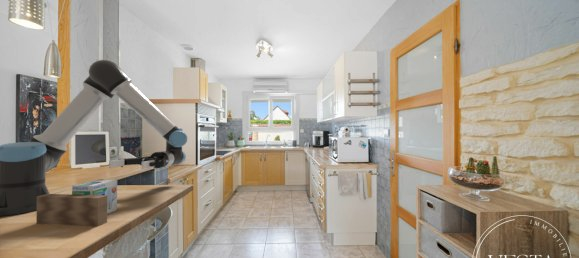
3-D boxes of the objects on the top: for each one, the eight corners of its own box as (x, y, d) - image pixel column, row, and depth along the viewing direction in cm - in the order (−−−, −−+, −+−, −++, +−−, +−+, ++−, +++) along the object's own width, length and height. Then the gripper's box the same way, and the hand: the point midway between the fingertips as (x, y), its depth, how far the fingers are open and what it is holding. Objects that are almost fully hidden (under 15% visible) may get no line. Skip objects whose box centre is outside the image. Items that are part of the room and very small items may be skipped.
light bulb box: (92, 221, 71) (92, 185, 71) (70, 221, 71) (70, 185, 71) (118, 209, 82) (118, 178, 82) (98, 209, 82) (99, 178, 82)
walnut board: (36, 223, 69) (36, 196, 69) (47, 219, 72) (48, 193, 72) (97, 226, 67) (98, 198, 67) (107, 222, 70) (107, 195, 70)
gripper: (186, 168, 110) (155, 175, 89) (137, 166, 113) (96, 173, 91) (186, 152, 110) (156, 155, 89) (137, 150, 113) (97, 154, 92)
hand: (125, 164), depth 90 cm, fingers open, 13 cm apart
